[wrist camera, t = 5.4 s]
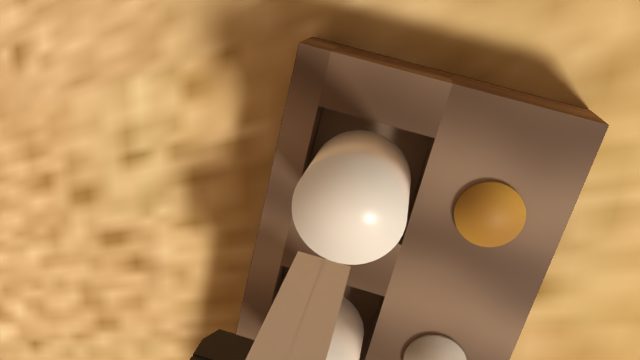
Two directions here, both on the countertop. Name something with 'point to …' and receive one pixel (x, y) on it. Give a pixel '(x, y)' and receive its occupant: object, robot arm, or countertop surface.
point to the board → (432, 200)
